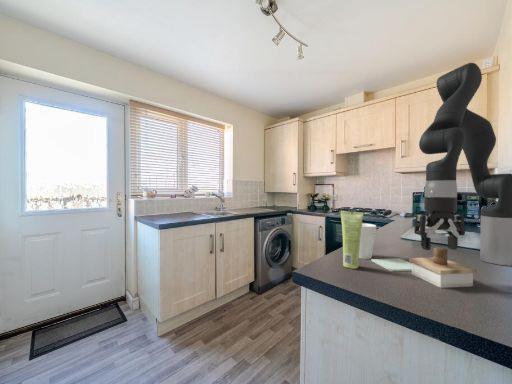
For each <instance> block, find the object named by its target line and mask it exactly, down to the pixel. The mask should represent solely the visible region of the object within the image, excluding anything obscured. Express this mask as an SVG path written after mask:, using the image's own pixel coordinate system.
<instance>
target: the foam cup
mask: <svg viewBox="0 0 512 384" xmlns="http://www.w3.org/2000/svg"><path fill="white" fill-rule="evenodd" d="M376 232H377V225H376V224H372V223H366V222H365V223H364V222H362V227H361V236H360V248H359V259H361V258H362V260H369V259H370V260H371V259H373V258H372V256H373V250H374V247H375V246H374V243H375V238H376Z"/></svg>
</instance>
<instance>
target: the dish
mask: <svg viewBox="0 0 512 384" xmlns="http://www.w3.org/2000/svg"><path fill="white" fill-rule="evenodd" d="M411 263H412V262H411ZM411 275H413V276H416V277H417V278H419V279H421V280H424V282H425V281H426V282H427V283H430V284H431V285H434V286H436V287H438V288H441V289H442V288H443V289H444V288H446V289H447V288H464V287H465V288H468V287H469V288H470V287H474V273H460V274H439V273H437V272H434V271H432V270H429V269H427V268H424V267H422V266H420V265H417V264H415V263H412V271H411Z"/></svg>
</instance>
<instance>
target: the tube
mask: <svg viewBox="0 0 512 384" xmlns="http://www.w3.org/2000/svg"><path fill="white" fill-rule="evenodd" d="M340 219H341V231H342V232H341V233H342V265H343V267H344V268H347V269H354V270H355V269H359V264H360V263H359V262H360V258H359V248H360V236H361V227H362V223H363V219H364V212H363V211H362V212H360V211H358V212H357V211H343V210H341V211H340Z"/></svg>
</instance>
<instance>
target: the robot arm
mask: <svg viewBox="0 0 512 384" xmlns="http://www.w3.org/2000/svg"><path fill="white" fill-rule="evenodd" d="M482 79H483V76H482V70H481V69H480V67H479V66H478V64H477V63H475V62H468V63H465V64H463V65H460V66H459V67H457V68H455V69H452V70H451V71H448V72H446V73H445V74H442V75H441V76H439V77H438V78H437V80H436V89H437V92H438V95H439V97H440V99H441V101H442V104H441V105H440V106H439V108H438V110H437V111H436V113H435V115H434V120H433V122H432V123H431V124H430V125H429V126H428V127H427V128H426V129H425V131H424V132H423V133H422V135H421V137H420V139H419V142H418V146H419V150H420V151H421V152H422V153H423V154H425V155H438V154H445V156H444V157H443V158H441V159H439V160H434V161H431V162H429V163H427V164H426V167H425V184H424V185H425V186H424V206H423V207H424V211H425V212H426V213H425V215H424V214H416V215H415V219H414V234H415V235H419V237H420V246H421V248H422V250H426V251H430V250H431V242H432V241H431V239H432V238H431V236H432V234H433V233H436V232H437V230H439V231H440V230H443V231H445V232H446V234H447V248H448V249H450V250H454V251H455V250H456V251H457V248H458V242H459V241H458V239H459V238H460V236H465V235H466V229H465V228H466V227H465V216H464V215H460V214H455V213H457V211H458V186H457V167H458V162H459V159H460V157H461V156H460V155H461V153H462V151H463V154H464V155H465V158H466V161H467V163H468V164H467V165H468V168H469V171H470V174H471V179H472V184H473V188H474V190H475V192H476V194H477V195H478V196H479V197H481V198H483V199H484V198H485V199H497V202H496V203H495V204H492V205H490V206H486V207H482V208H481V209H480V232H479V233H480V234H479V235H480V237H479V238H480V240H479V241H480V242H479V243H480V245H479V246H480V247H479V253H480V254H479V259H480V260H481V261H482V262H487V263H491V264H494V265H501V266H512V173H495V174H491V173H490V171H489V167H488V161H489V158H490V156H491V154H492V152H493V151H494V149H495V146H496V143H497V136H496V134H495V131H494V128H493V125H492V123H491V121H489V120H488V119H487V118H485V117H484V116H482V115H480V114H478V113H475V112H474V111H472V110H470V109H468V106H469V104H470V103H471V101H472V99H473V98H474V96H475V95H476V92H478V90H479V88H480V86H481V84H482V81H483V80H482Z"/></svg>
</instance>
